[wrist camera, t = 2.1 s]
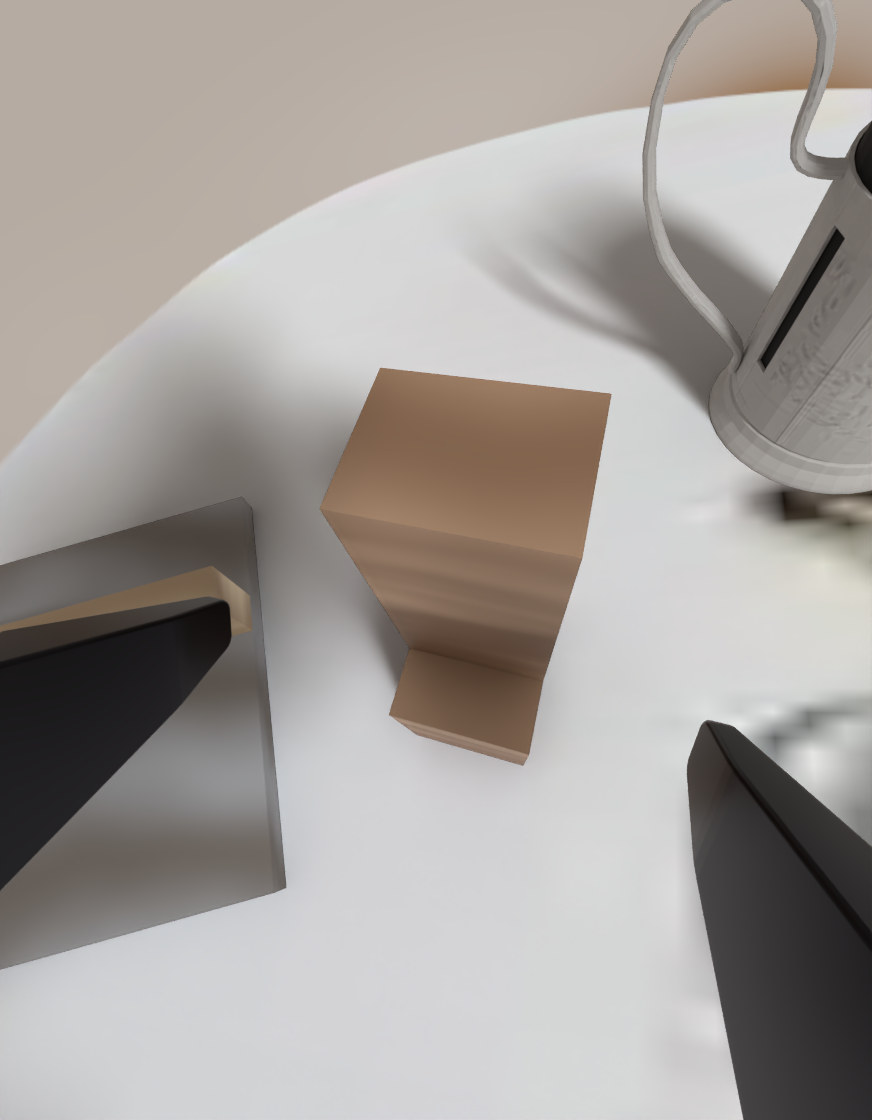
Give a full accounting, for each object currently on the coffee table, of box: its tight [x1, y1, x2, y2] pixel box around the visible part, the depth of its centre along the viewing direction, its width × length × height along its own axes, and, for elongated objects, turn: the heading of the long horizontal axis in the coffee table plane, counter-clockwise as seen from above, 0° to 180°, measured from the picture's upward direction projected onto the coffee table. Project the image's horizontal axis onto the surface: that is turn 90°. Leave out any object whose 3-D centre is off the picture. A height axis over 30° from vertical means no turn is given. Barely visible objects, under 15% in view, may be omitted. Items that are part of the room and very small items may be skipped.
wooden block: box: [320, 368, 611, 765], centre depth 14 cm, size 7×4×13 cm, turn 164°
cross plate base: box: [0, 497, 286, 970], centre depth 19 cm, size 16×12×4 cm
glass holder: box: [643, 0, 872, 494], centre depth 16 cm, size 9×14×15 cm, turn 71°
